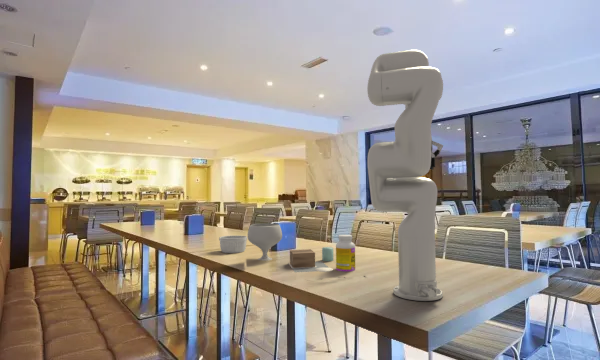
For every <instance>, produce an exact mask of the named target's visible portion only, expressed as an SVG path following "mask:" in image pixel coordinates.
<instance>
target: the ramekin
mask: <svg viewBox="0 0 600 360" xmlns="http://www.w3.org/2000/svg"><path fill="white" fill-rule="evenodd" d="M218 240H219V246H220V247H219V248H220V250H221V252H222V253H226V254H238V253H243V252H245V250H246V248H247V242H248V241H247V240H248V235H223V236H220V237H219V238H218Z"/></svg>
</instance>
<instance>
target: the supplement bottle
mask: <svg viewBox="0 0 600 360" xmlns="http://www.w3.org/2000/svg"><path fill="white" fill-rule="evenodd" d="M338 240H339V241H338V242H336V244H335V270H336V271H339V272H353V271H356V244H355V243H354V242H352V240H353V235H351V234H338Z"/></svg>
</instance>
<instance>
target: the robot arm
mask: <svg viewBox="0 0 600 360" xmlns="http://www.w3.org/2000/svg"><path fill="white" fill-rule="evenodd" d="M429 63H430V62H429V59H428V56H427V55H426V54H425V53H424V52H423V51H421V50H419V49H409V50H400V51H394V52H388V53H382V54H379V56H377V57H376V59H374V61H373V64H372V67H371V70H370V73H369V77H368V80H367V81H368V82H367V91H366V92H367V97H368V99H369V102H370V103H371V104H372V105H374V106H376V107H385V106H395V105H396V106H397V105H404V108H405V109H404V110H403V111H402V112H401V113H400V115H399V116H398V118H397V119H396V121H395V123H394V138H395V139H394V141H384V142H377V143H374V144H373V145H371V146H370V148H369V149H368V153H367V173H368V174H367V175H368V182H369V183H368V184H369V191H370V193H369V194H370V201H371V205H372V207H373V209H374V210H375V211H377V212H380V213H382V212H383V213H406V214H407V215H406V216H405V218H403V220H401V222H400V224H399V226H398V227H397V228H398V229H397V251H398V254H397V255H398V258H397V259H398V285H396V286H394V287H393V288H392V290H393V291H392V293H393V294H394V295H395V296H396V297H399V298H401V299H406V300H410V301H417V302H431V301H437V300H440V299H442V298H443V295H444V294H443V290H441V289H440V288H438V286H437V273H436V271H437V270H436V269H437V268H436V266H437V265H436V228H435V227H436V209H437V202H438V186H437V185H436V182H435V181H433V180H432V179H430V178H429V177H428V178H427V177H423V176H425V175H427V174H428V173H429V171H430V170H431V171H433V170H434V168H436V158H437V157H438V155H439V154H440V153H441V151H442V149H443V147H444V145H443V144H441V143H439V142H437V141H434V140H433V137H432V130H431V129H432V122H433V118H434V116H435V113H436V110H437V107H438V106H439V105H438V104H439V102H440V101H441V99H442V96H443V92H444V80H443V77H442V72H441V71H440V70H439V69H438V68H436V67H432V66H430V64H429ZM433 146H435V147H436V150H435V151H434V152H433Z"/></svg>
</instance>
